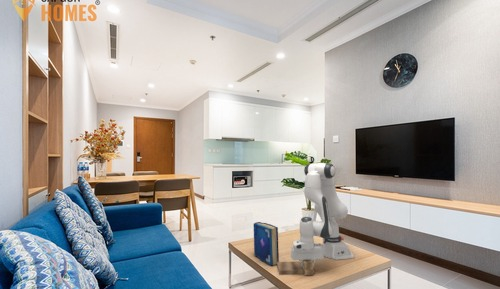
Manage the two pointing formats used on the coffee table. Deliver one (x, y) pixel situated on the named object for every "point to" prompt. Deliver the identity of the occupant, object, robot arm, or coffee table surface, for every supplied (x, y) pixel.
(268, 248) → the book
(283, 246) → the coffee table surface
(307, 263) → the block
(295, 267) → the board
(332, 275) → the coffee table surface
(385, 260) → the coffee table surface
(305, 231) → the robot arm
